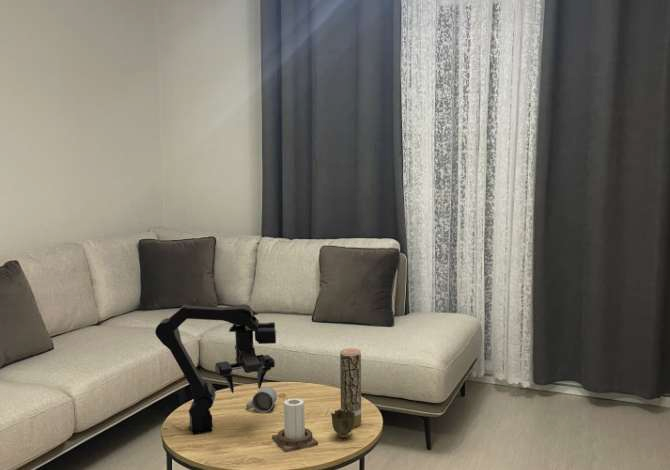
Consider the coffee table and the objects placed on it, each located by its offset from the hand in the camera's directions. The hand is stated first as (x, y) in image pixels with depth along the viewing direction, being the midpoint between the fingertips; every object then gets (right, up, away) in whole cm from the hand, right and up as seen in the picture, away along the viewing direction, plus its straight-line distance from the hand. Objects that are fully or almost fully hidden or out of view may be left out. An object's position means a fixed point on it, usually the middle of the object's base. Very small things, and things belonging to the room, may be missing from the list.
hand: (245, 390), depth 222 cm
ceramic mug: (+3, -11, +19) cm, 22 cm away
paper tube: (+35, -12, +4) cm, 37 cm away
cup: (+32, -14, -6) cm, 35 cm away
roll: (+17, -13, -9) cm, 23 cm away
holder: (+17, -14, -9) cm, 24 cm away
